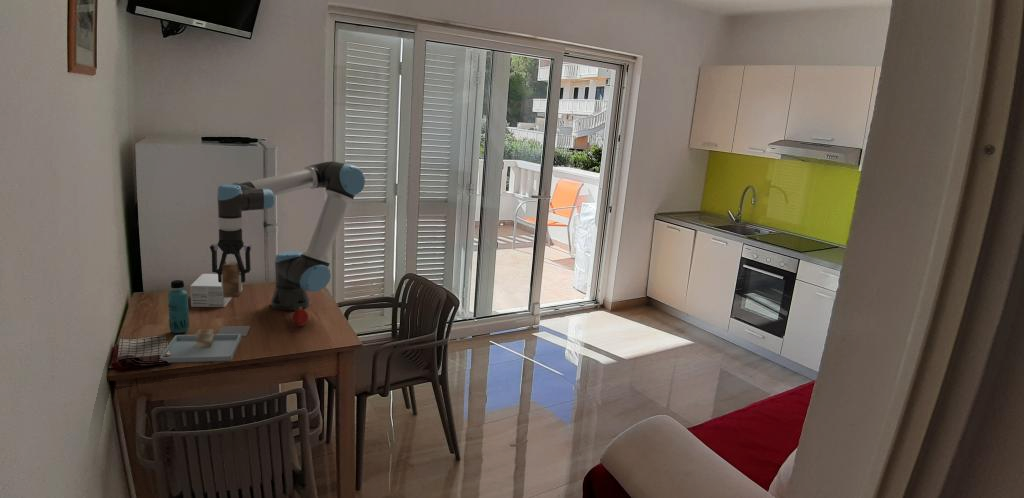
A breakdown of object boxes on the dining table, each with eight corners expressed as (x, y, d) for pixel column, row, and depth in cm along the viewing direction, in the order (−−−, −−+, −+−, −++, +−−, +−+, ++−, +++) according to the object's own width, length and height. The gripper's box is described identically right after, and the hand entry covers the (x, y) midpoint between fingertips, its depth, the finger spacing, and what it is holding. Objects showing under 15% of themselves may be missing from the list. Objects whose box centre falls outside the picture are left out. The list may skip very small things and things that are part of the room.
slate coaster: (250, 327, 226) (250, 325, 226) (246, 337, 217) (246, 335, 217) (221, 327, 224) (221, 326, 223) (216, 338, 214) (216, 336, 214)
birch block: (213, 342, 210) (213, 329, 209) (211, 347, 205) (210, 333, 204) (199, 342, 209) (199, 329, 207) (196, 347, 204) (196, 334, 203)
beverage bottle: (174, 329, 218) (171, 277, 214) (193, 330, 219) (190, 278, 214) (165, 336, 212) (162, 283, 207) (185, 337, 213) (182, 284, 208)
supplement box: (202, 293, 258) (202, 273, 255) (235, 294, 260) (234, 274, 258) (190, 307, 242) (189, 285, 239) (224, 307, 244) (224, 285, 242)
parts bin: (241, 338, 215) (241, 333, 215) (231, 361, 197) (231, 356, 197) (175, 340, 210) (175, 335, 209) (159, 363, 191) (158, 358, 191)
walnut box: (240, 293, 220) (240, 261, 217) (238, 297, 215) (237, 265, 212) (226, 293, 218) (225, 261, 215) (223, 297, 214) (222, 265, 211)
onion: (293, 329, 227) (293, 310, 225) (291, 324, 232) (291, 305, 230) (309, 328, 230) (309, 308, 228) (307, 323, 235) (307, 304, 233)
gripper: (259, 226, 217) (260, 287, 222) (204, 225, 212) (207, 287, 217) (256, 231, 210) (257, 294, 215) (199, 230, 205) (202, 294, 210)
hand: (232, 290), depth 216 cm, fingers closed on walnut box, 5 cm apart
